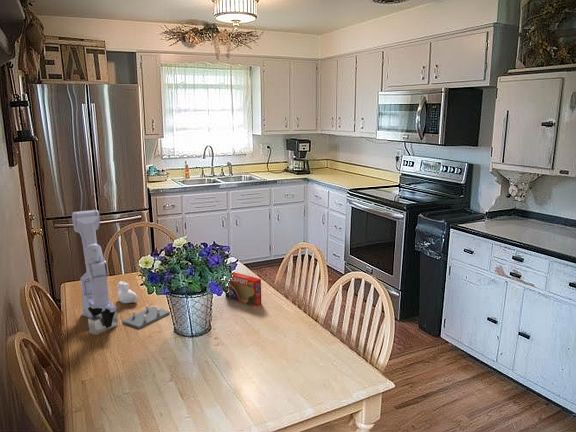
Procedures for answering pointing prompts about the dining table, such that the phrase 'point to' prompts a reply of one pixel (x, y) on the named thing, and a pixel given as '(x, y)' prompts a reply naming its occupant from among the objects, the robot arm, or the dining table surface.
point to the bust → (126, 293)
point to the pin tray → (145, 317)
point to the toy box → (245, 289)
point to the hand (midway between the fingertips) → (103, 324)
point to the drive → (100, 324)
